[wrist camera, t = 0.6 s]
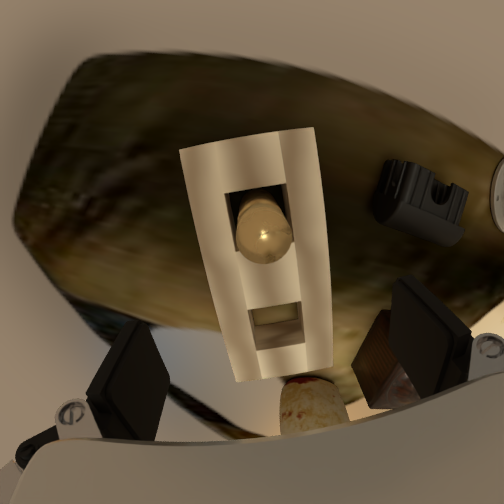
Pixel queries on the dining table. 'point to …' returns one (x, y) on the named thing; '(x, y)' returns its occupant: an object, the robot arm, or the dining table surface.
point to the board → (265, 275)
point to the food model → (310, 405)
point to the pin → (262, 228)
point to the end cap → (419, 203)
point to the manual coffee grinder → (382, 369)
